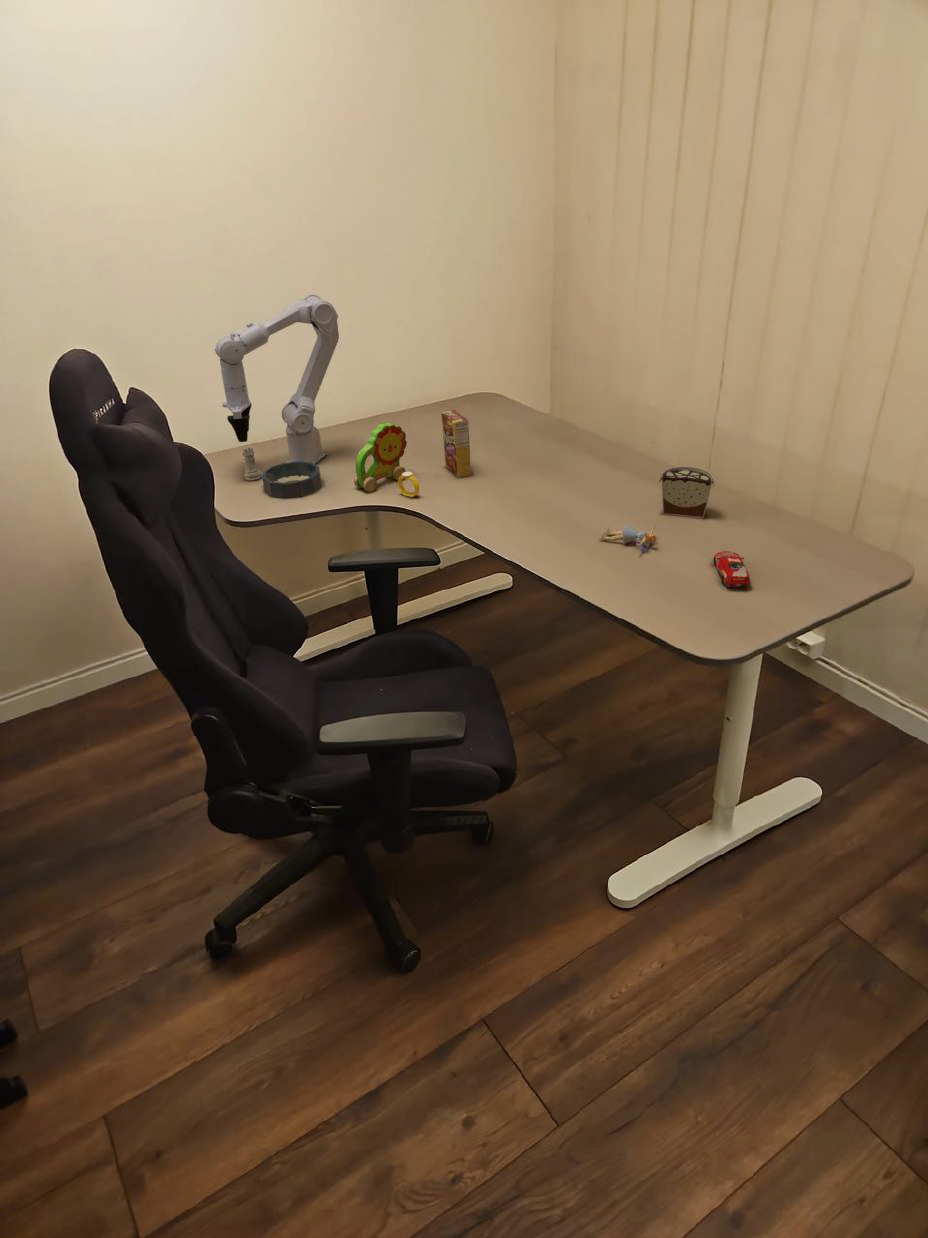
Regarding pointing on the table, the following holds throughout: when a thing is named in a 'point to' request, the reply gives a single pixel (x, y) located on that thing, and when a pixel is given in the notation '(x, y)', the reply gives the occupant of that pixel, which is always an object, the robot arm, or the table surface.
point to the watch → (414, 480)
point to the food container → (686, 491)
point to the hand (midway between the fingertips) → (243, 436)
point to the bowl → (292, 479)
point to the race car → (731, 569)
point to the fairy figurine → (630, 536)
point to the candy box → (456, 443)
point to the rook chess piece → (251, 466)
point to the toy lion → (381, 456)
